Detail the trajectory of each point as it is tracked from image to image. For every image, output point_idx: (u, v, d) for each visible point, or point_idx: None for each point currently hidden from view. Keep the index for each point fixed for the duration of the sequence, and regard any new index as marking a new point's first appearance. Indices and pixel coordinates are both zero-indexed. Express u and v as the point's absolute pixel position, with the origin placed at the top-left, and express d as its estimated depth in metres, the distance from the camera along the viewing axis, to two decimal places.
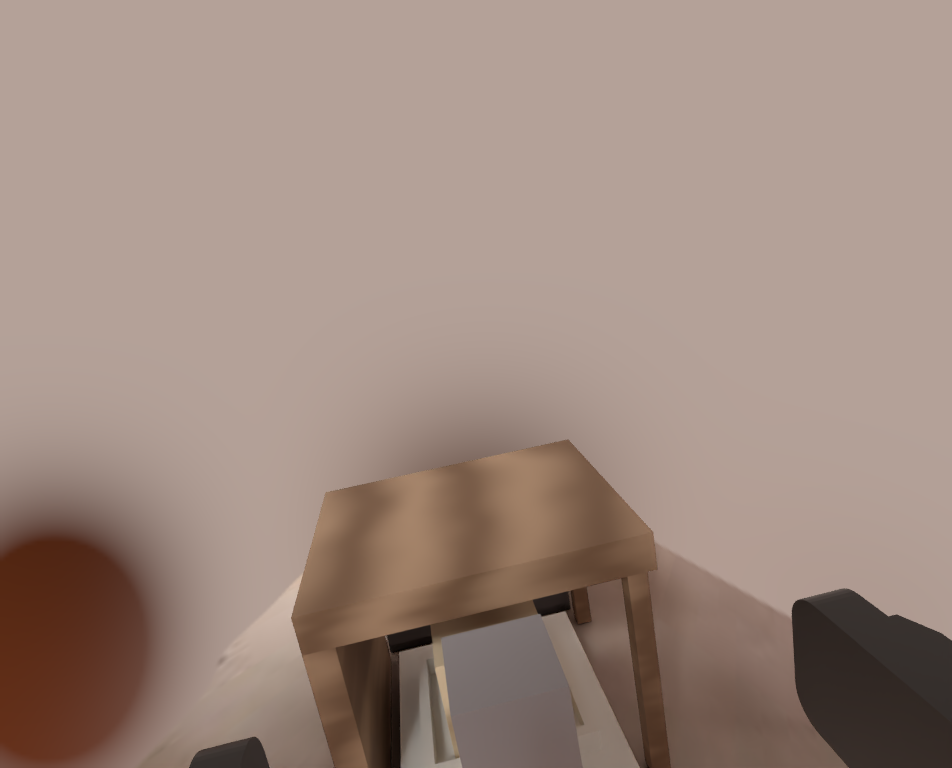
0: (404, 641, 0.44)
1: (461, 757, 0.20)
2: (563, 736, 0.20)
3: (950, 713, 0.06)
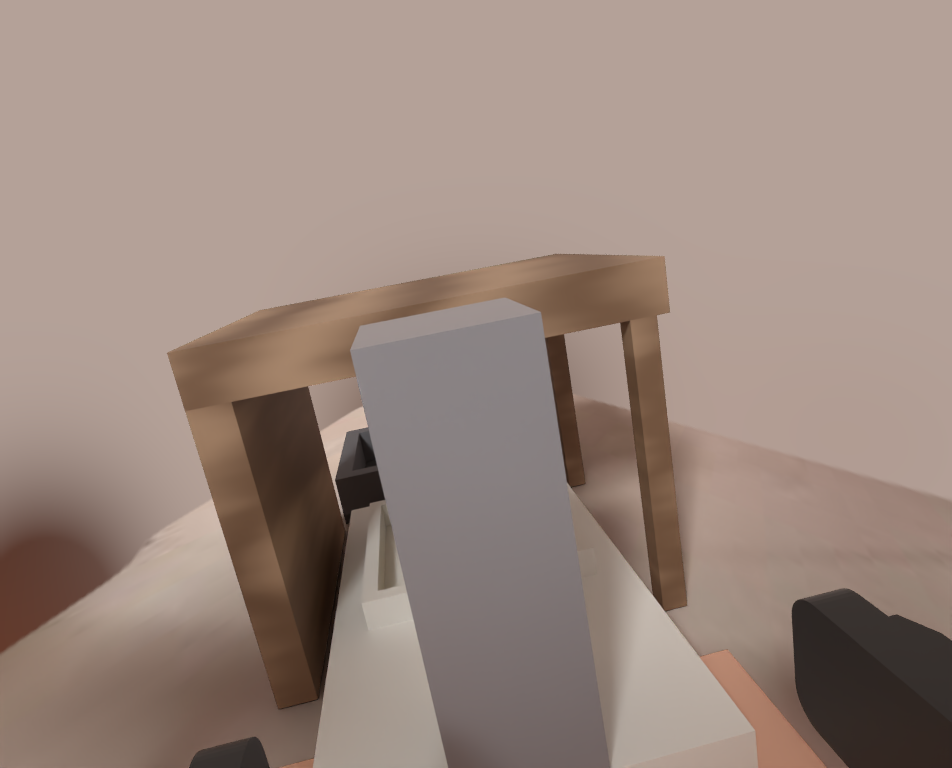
0: None
1: (370, 427, 0.12)
2: (533, 403, 0.13)
3: (950, 713, 0.06)
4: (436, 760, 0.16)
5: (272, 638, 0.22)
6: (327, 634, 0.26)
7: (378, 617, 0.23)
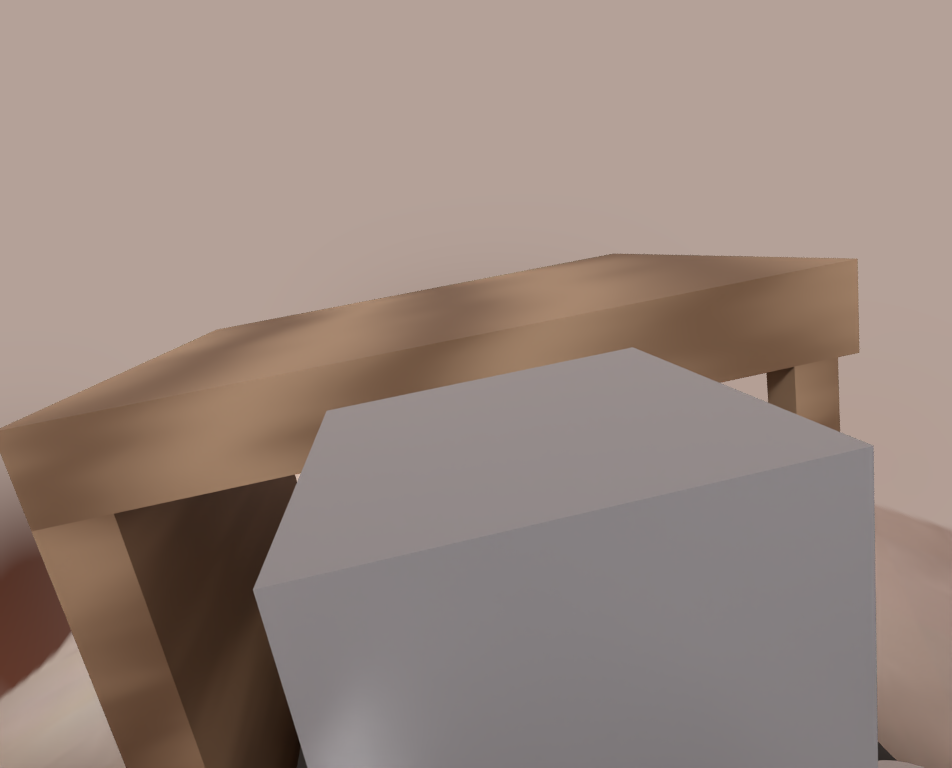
0: None
1: None
2: (817, 706, 0.04)
3: None
4: None
5: None
6: None
7: None
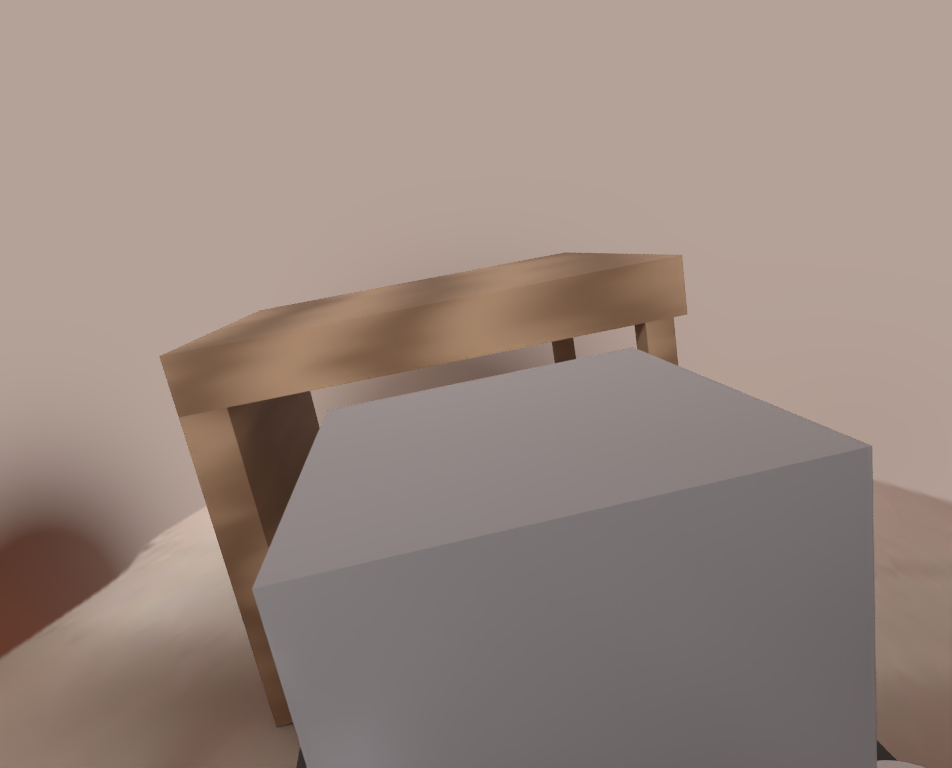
0: None
1: None
2: (816, 706, 0.04)
3: None
4: None
5: (270, 653, 0.21)
6: None
7: None
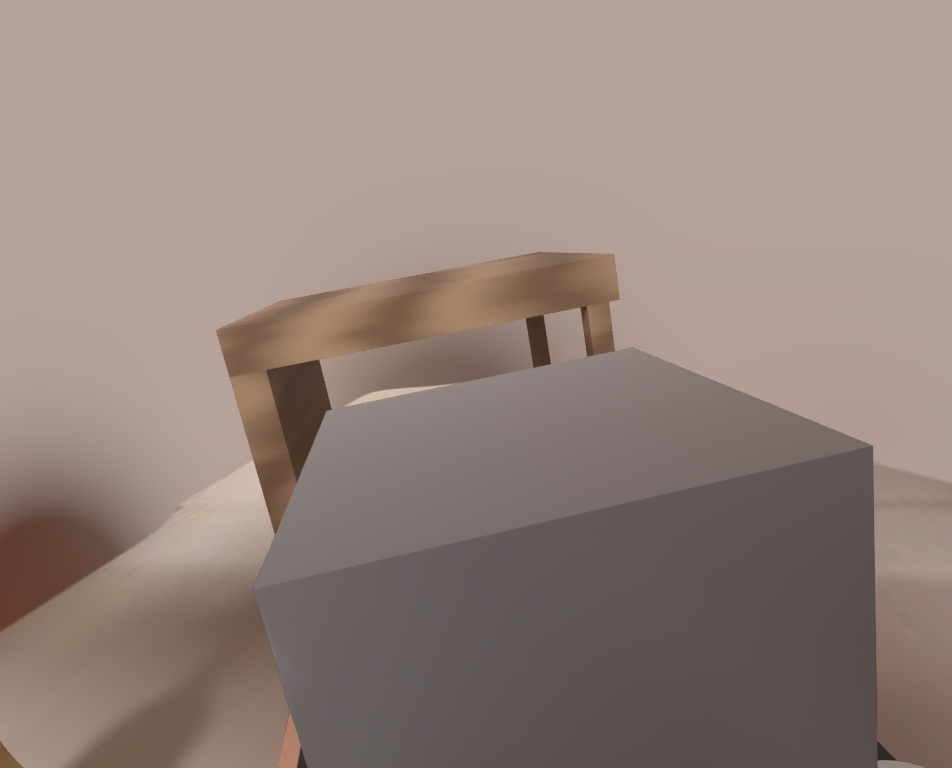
0: None
1: None
2: (816, 706, 0.04)
3: None
4: None
5: None
6: None
7: None
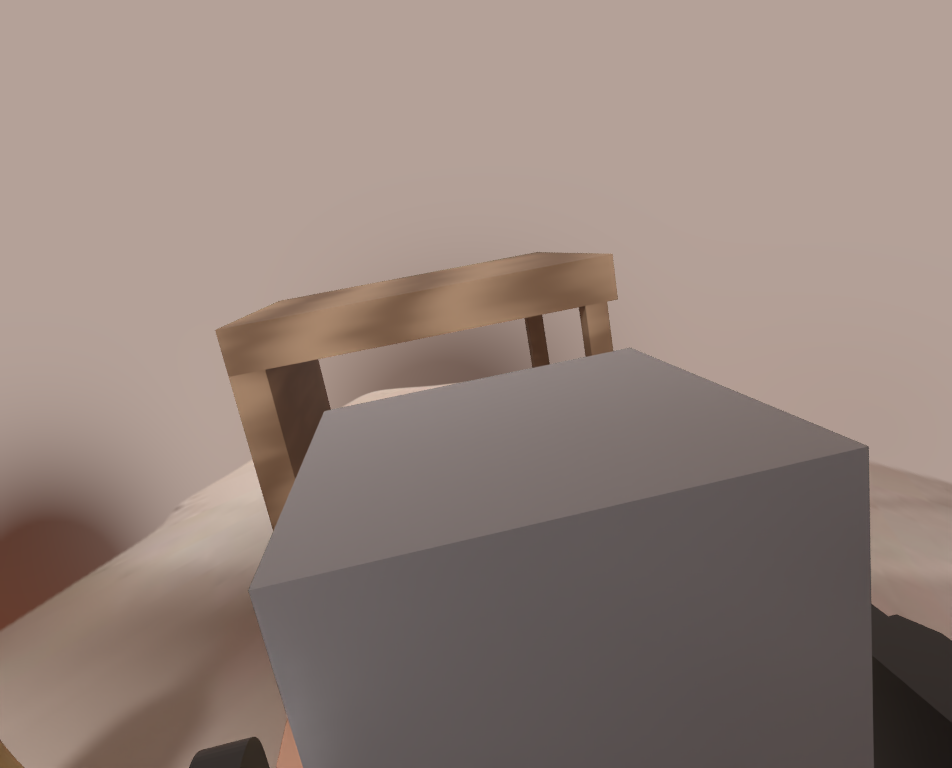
0: None
1: None
2: (812, 706, 0.04)
3: (950, 713, 0.06)
4: None
5: None
6: None
7: None
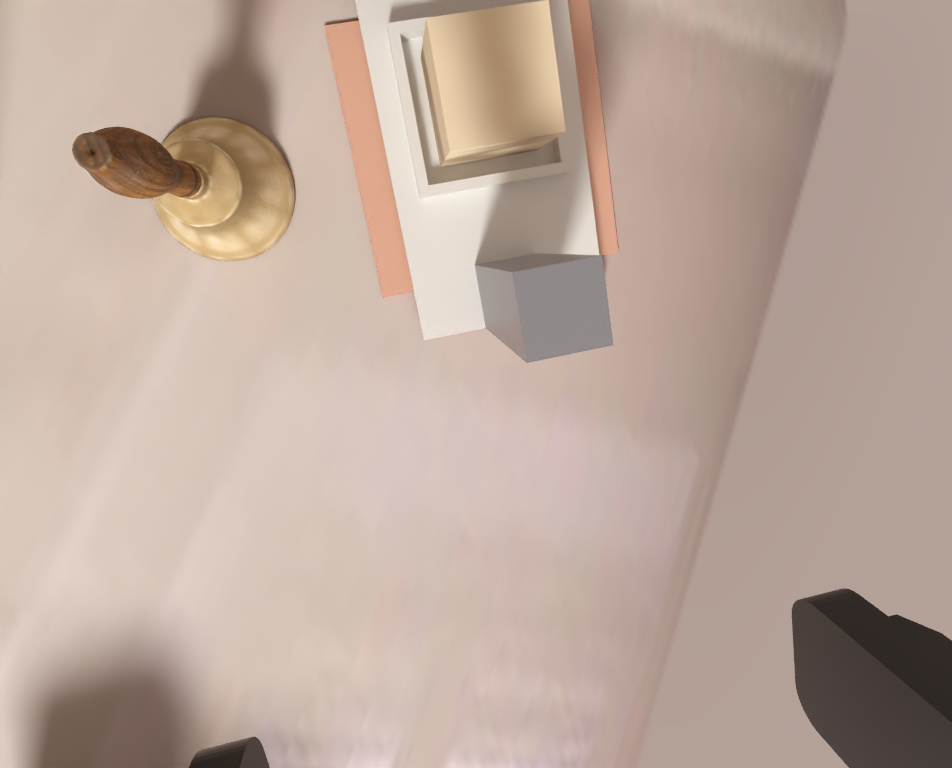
0: None
1: (520, 355, 0.28)
2: None
3: (950, 713, 0.06)
4: (473, 302, 0.37)
5: None
6: None
7: (427, 197, 0.35)
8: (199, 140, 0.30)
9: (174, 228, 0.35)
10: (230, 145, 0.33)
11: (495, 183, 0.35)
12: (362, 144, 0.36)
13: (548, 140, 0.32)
